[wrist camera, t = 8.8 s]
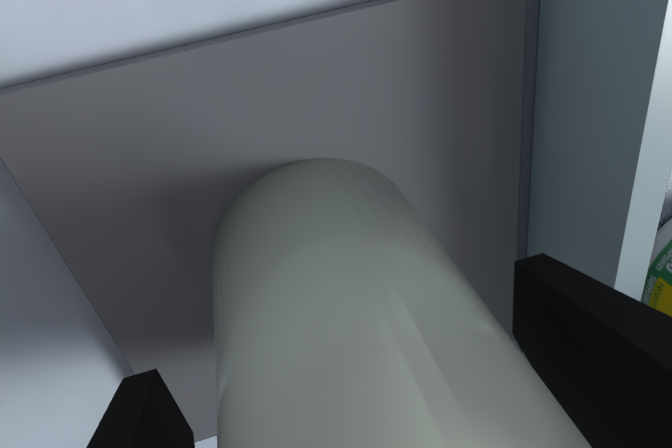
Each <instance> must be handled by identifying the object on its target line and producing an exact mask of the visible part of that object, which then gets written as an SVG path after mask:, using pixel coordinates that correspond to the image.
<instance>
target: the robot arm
mask: <svg viewBox="0 0 672 448" xmlns="http://www.w3.org/2000/svg"><path fill="white" fill-rule="evenodd" d="M512 334H513V335H514V337H515V339H516V341H517V342H518V344H519V346H520V348H521V349H522V351H523V353H524V355H525V356H526V358H527V360H528V361H529V363H530V365H531V366H532V368H533V369H534V370H535V372H536V373H537V374H538V376H539V377H540V378H541V380H542V381H543V382H544V384H545V385H546V386H547V388H548V389H549V390H550V392H551V393H552V394H553V396H554V397H555V398H556V400H557V401H558V403H559V404H560V405H561V407H562V408H563V409H564V411H565V412H566V413H567V415H568V416H569V417H570V419H571V420H572V421H573V423H574V424H575V425H576V427H577V428H578V429H579V431H580V432H581V433H582V435H583V436H584V438H585V439H586V440H587V442H588V443H589V444H590V446H591V447H592V448H672V317H671V316H669V315H667V314H665V313H663V312H661V311H659V310H656V309H654V308H652V307H650V306H648V305H646V304H644V303H642V302H640V301H638V300H636V299H634V298H632V297H630V296H628V295H626V294H624V293H622V292H620V291H618V290H616V289H614V288H612V287H610V286H608V285H606V284H604V283H602V282H600V281H598V280H596V279H594V278H592V277H590V276H588V275H586V274H584V273H582V272H580V271H578V270H576V269H574V268H572V267H570V266H568V265H566V264H564V263H562V262H560V261H558V260H556V259H554V258H552V257H550V256H548V255H546V254H544V253H541V254H538V255H534V256H531V257H527V258H524V259H521V260H517V261H515V264H514V292H513V321H512ZM87 448H195V445H194V433H193V431H192V429H191V427H190V426H189V424H188V422H187V421H186V419H185V417H184V415H183V414H182V412H181V410H180V408H179V407H178V405H177V403H176V401H175V400H174V398H173V396H172V395H171V393H170V391H169V389H168V388H167V386H166V384H165V382H164V381H163V379H162V377H161V375H160V374H159V372H158V370H157V369H152V370H149V371H146V372H142V373H139V374H136V375H132V376H129V377H126V378H124V379H123V380H122V382H121V383H120V385H119V387H118V389H117V391H116V393H115V395H114V396H113V398H112V400H111V402H110V404H109V406H108V408H107V410H106V412H105V414H104V416H103V417H102V419H101V421H100V423H99V425H98V427H97V429H96V431H95V433H94V435H93V436H92V438H91V440H90V442H89V444H88V446H87Z"/></svg>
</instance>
